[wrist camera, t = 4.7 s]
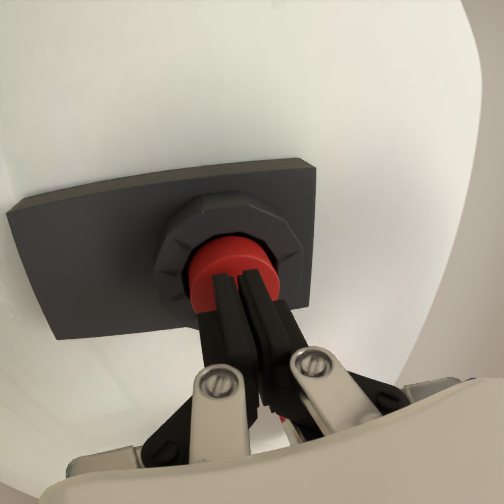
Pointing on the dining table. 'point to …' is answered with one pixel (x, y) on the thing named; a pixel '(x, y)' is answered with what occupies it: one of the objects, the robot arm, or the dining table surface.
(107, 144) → the dining table surface
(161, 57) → the dining table surface
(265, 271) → the red push button
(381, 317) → the dining table surface
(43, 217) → the button base
